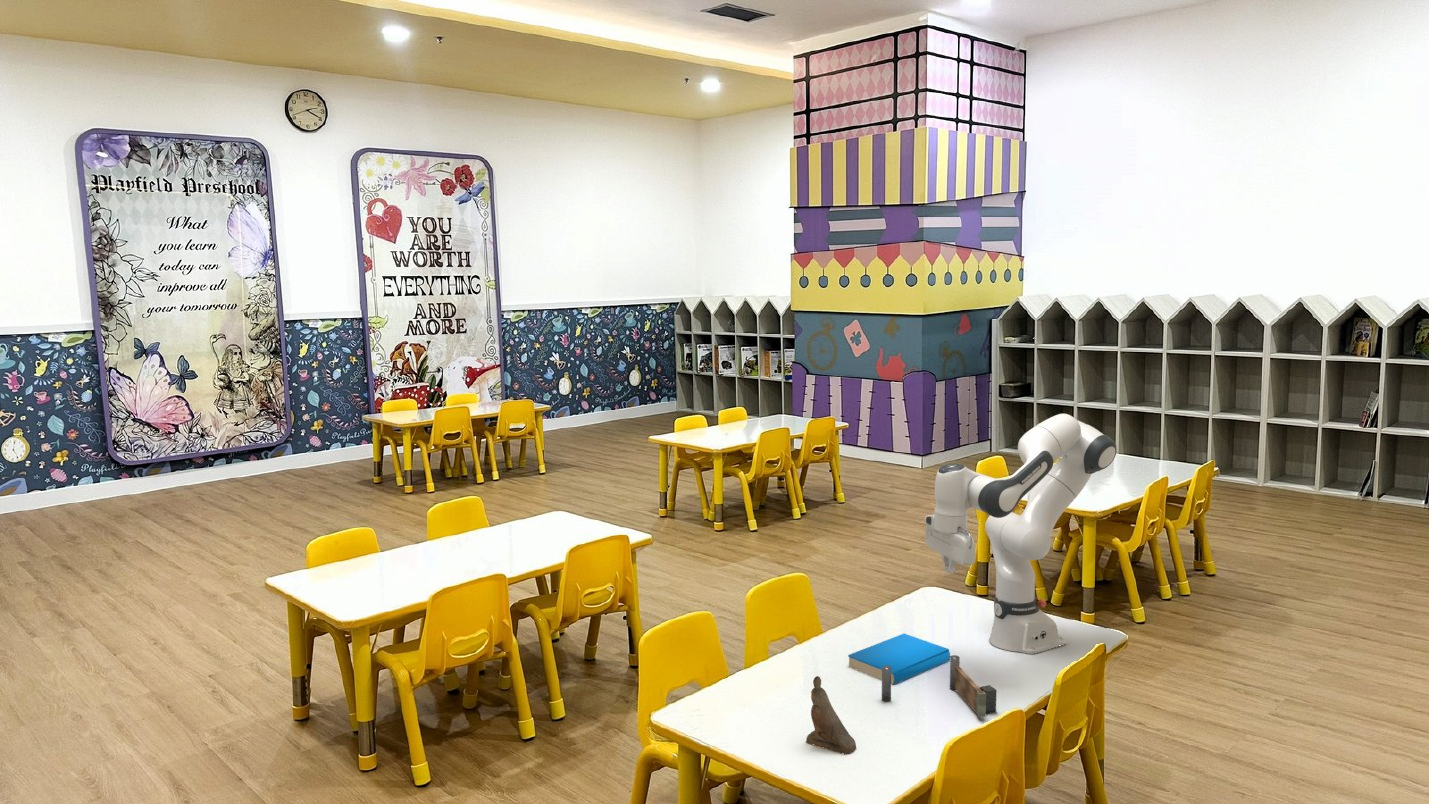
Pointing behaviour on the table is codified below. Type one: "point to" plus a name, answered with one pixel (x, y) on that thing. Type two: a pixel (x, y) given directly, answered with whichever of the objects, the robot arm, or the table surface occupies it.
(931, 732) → the table surface
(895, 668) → the book
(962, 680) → the gate
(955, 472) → the robot arm
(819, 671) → the table surface
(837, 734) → the worn brown figurine
